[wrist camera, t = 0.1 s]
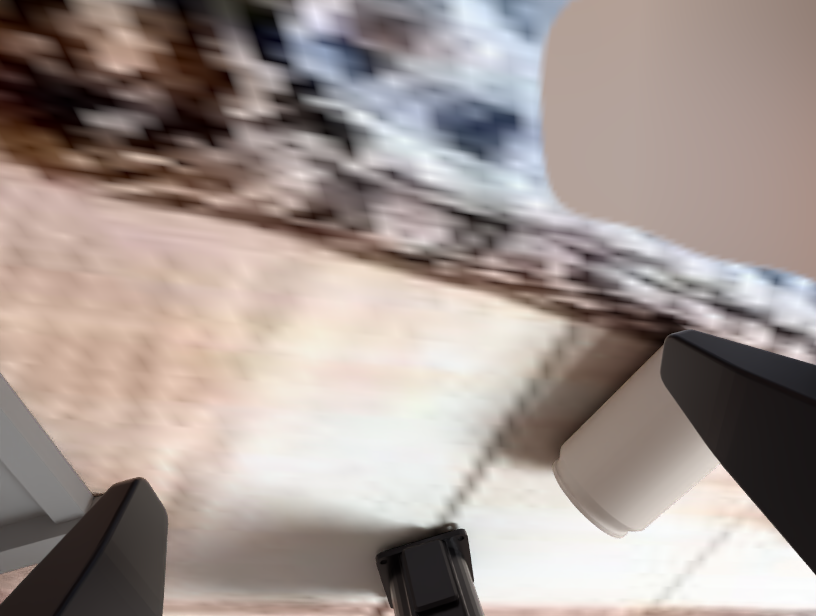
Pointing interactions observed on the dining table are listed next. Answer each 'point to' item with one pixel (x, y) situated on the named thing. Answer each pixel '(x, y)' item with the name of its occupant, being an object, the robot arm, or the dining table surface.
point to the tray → (33, 487)
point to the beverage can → (633, 456)
